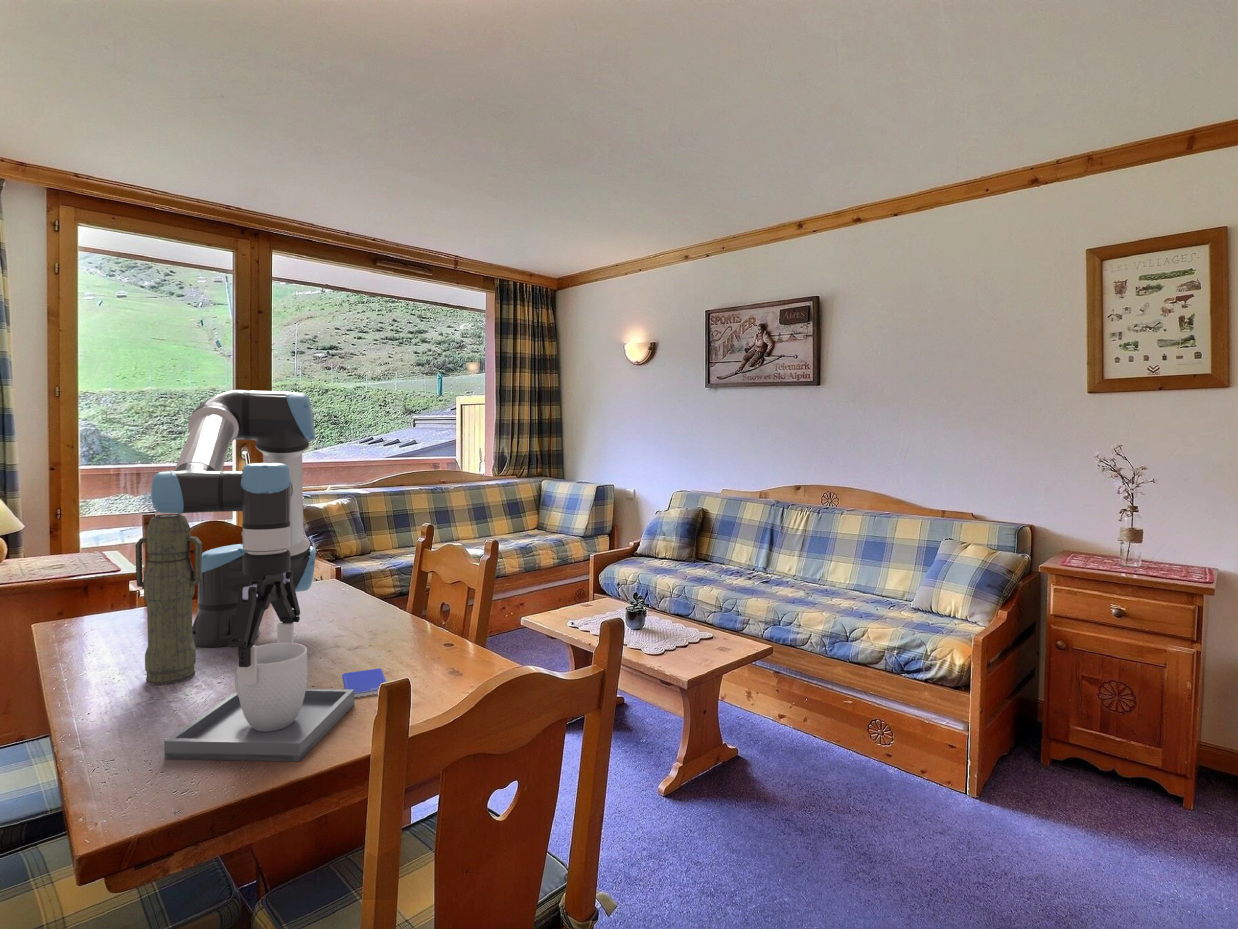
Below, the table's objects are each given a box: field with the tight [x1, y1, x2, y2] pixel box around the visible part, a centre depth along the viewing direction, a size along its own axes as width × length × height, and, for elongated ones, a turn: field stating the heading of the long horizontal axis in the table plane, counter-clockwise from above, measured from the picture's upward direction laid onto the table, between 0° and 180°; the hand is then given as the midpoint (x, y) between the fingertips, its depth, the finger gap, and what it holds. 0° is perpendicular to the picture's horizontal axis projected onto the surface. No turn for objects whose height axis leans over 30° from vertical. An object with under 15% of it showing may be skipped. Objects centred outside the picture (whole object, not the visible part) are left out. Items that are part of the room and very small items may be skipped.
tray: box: [163, 688, 355, 762], centre depth 117 cm, size 22×22×3 cm
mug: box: [234, 642, 308, 732], centre depth 117 cm, size 15×11×13 cm
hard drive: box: [341, 668, 387, 698], centre depth 138 cm, size 2×8×12 cm
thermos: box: [134, 513, 203, 686], centre depth 139 cm, size 9×12×35 cm
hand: (267, 670), depth 117 cm, fingers open, 12 cm apart
